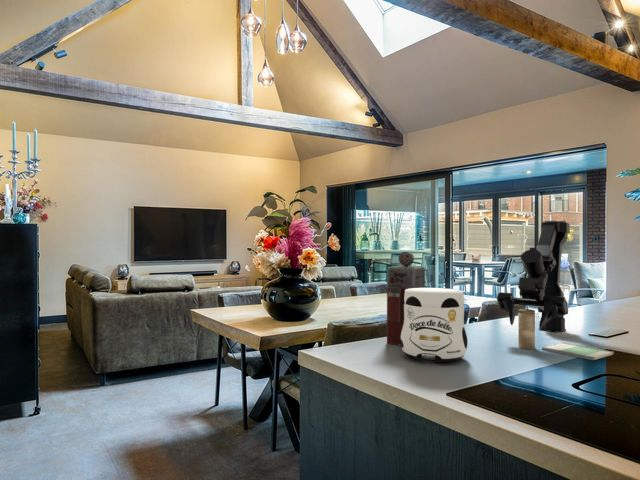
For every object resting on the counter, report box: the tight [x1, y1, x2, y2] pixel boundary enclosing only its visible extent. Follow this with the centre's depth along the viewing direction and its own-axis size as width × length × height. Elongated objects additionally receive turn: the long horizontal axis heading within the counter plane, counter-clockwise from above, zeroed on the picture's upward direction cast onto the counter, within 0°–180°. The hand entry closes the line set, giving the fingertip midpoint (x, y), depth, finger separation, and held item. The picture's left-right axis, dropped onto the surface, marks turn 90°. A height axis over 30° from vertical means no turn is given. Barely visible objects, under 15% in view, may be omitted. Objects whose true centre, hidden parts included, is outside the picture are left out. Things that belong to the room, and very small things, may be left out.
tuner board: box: [541, 341, 615, 361], centre depth 129 cm, size 14×12×1 cm
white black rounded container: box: [400, 287, 468, 363], centre depth 122 cm, size 17×17×18 cm
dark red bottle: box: [386, 251, 426, 346], centre depth 140 cm, size 9×11×28 cm
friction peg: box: [518, 308, 536, 350], centre depth 134 cm, size 4×4×11 cm
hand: (525, 325), depth 133 cm, fingers open, 8 cm apart
